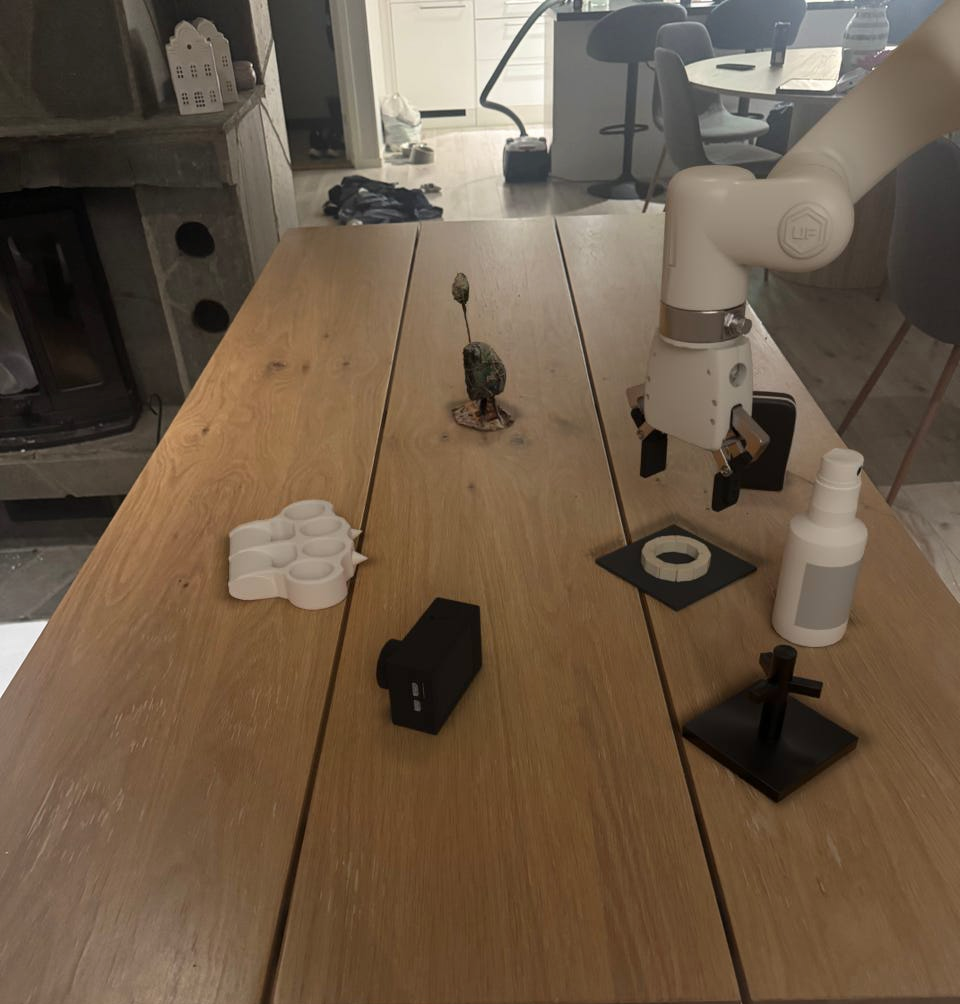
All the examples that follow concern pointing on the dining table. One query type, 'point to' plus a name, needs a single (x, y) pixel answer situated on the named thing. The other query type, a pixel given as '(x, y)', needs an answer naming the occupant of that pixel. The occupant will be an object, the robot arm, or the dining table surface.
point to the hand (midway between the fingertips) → (687, 489)
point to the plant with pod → (480, 376)
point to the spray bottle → (823, 556)
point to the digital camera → (432, 665)
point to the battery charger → (771, 440)
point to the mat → (672, 593)
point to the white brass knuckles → (294, 556)
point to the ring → (672, 570)
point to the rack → (772, 730)
